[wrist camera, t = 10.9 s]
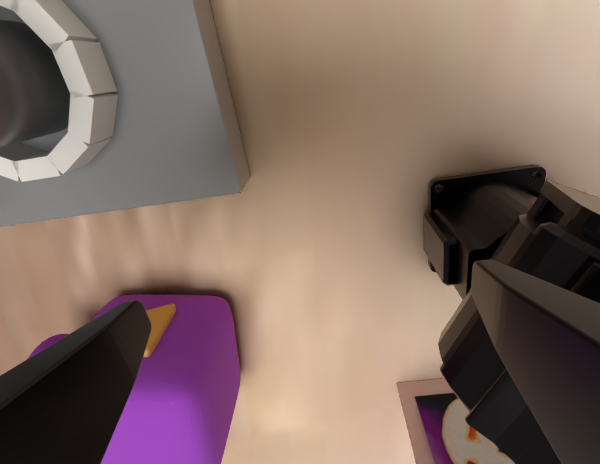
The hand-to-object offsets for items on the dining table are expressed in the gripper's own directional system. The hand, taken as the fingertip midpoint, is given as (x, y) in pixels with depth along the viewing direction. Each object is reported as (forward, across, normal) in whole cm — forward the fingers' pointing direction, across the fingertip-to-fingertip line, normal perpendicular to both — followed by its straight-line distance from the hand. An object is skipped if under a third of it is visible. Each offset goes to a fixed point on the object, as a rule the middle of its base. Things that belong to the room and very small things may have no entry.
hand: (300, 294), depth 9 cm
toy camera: (+13, +14, +12) cm, 23 cm away
